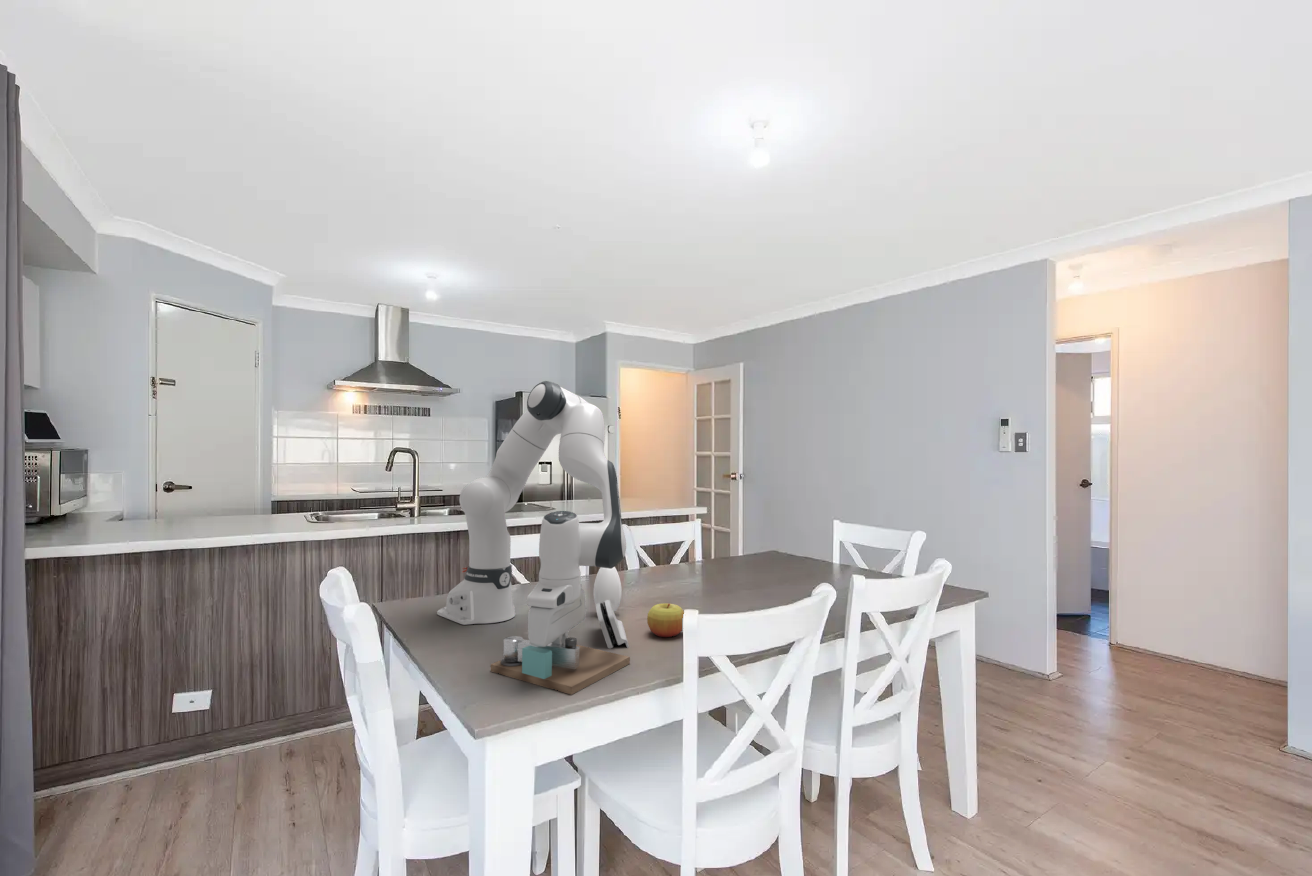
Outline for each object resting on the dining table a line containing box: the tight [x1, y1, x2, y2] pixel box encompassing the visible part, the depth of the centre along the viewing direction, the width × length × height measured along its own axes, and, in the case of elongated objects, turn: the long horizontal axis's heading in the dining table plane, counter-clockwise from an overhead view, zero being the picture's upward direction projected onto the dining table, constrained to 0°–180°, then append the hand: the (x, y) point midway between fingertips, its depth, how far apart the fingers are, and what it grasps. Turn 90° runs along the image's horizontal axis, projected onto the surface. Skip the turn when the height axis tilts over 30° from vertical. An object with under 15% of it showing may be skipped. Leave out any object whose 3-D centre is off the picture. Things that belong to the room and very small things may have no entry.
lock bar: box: [502, 635, 579, 669], centre depth 127 cm, size 17×4×6 cm, turn 72°
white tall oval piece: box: [592, 566, 622, 612], centre depth 172 cm, size 8×8×18 cm
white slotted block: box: [595, 600, 630, 649], centre depth 152 cm, size 17×5×10 cm, turn 7°
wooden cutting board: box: [490, 642, 631, 696], centre depth 131 cm, size 22×20×2 cm
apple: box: [646, 602, 685, 638], centre depth 155 cm, size 10×10×8 cm
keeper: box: [522, 646, 552, 679], centre depth 123 cm, size 6×2×5 cm, turn 58°
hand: (559, 653), depth 129 cm, fingers closed
